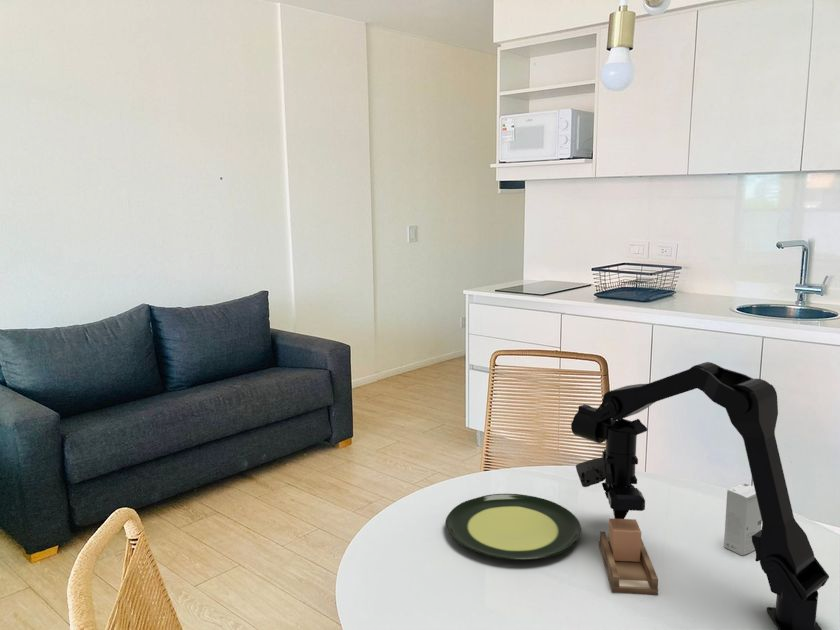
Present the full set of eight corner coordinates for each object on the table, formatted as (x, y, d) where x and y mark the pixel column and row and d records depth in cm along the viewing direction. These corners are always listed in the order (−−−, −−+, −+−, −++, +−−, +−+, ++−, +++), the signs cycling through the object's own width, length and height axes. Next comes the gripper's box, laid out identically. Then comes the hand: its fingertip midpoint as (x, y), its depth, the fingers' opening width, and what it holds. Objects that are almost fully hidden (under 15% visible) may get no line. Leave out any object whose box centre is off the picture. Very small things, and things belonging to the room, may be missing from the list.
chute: (657, 594, 115) (658, 579, 115) (612, 592, 116) (612, 576, 116) (639, 547, 131) (639, 533, 131) (598, 545, 132) (599, 531, 132)
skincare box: (743, 556, 127) (748, 498, 125) (721, 546, 131) (725, 489, 129) (761, 547, 130) (765, 490, 128) (739, 537, 134) (743, 482, 132)
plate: (451, 572, 124) (451, 560, 123) (441, 504, 151) (441, 494, 151) (598, 567, 125) (599, 555, 124) (562, 501, 152) (562, 490, 152)
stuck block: (639, 561, 124) (641, 532, 123) (612, 560, 124) (613, 531, 123) (634, 547, 129) (635, 519, 128) (608, 546, 129) (609, 518, 128)
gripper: (574, 432, 140) (572, 500, 143) (585, 467, 122) (583, 544, 125) (627, 433, 139) (625, 502, 142) (647, 469, 121) (643, 547, 124)
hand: (618, 522), depth 133 cm, fingers closed
